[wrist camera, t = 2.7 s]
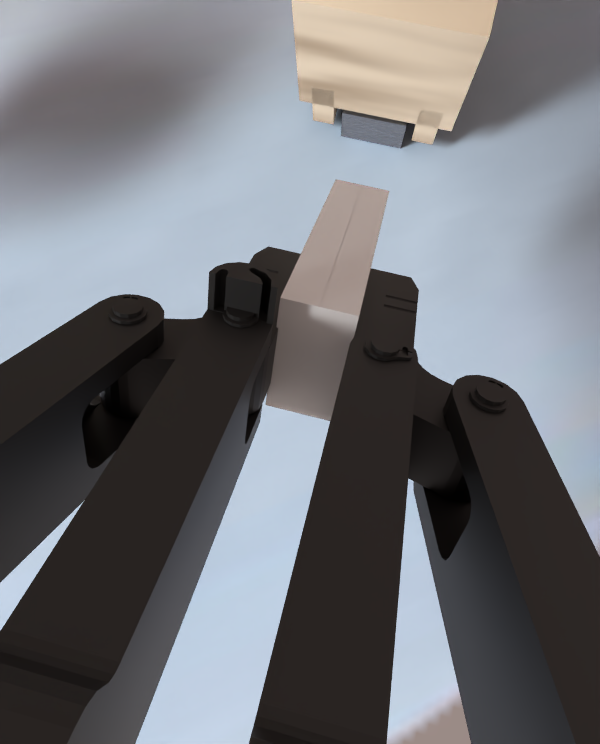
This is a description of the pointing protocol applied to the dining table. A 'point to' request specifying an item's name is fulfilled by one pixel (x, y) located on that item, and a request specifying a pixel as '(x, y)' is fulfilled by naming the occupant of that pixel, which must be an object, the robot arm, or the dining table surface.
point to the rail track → (372, 128)
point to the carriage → (390, 58)
